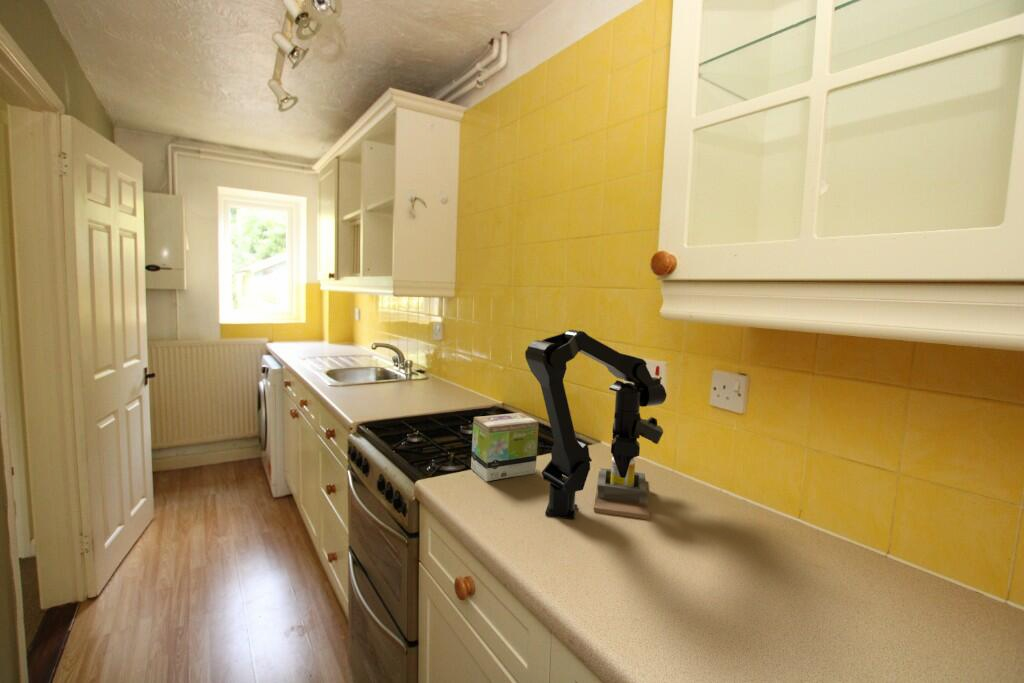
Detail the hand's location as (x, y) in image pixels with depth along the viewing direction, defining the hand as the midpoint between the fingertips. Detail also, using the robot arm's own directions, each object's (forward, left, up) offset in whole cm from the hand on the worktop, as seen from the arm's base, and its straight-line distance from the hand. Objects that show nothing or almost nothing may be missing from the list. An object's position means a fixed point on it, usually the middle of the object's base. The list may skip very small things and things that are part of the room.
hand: (622, 471), depth 114 cm
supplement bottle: (0, 0, -5) cm, 5 cm away
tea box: (+5, +31, -6) cm, 32 cm away
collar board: (0, 0, -6) cm, 6 cm away
